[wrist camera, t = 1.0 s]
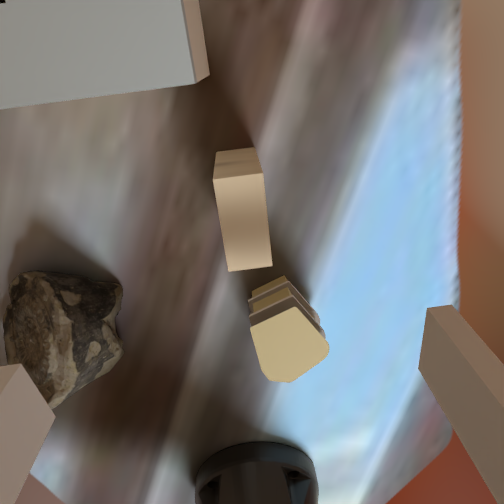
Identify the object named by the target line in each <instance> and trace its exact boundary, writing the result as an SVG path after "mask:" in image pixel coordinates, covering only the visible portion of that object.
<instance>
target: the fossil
mask: <svg viewBox="0 0 504 504" xmlns="http://www.w3.org/2000/svg"><path fill="white" fill-rule="evenodd" d="M9 294H10V298H11V304H10V305H8V307H7V309H6V313H5V315H4V318H3V328H4V340H5V350H6V355H7V362H8V364H9V365H13V364H22V366H23V367H24V369H25V370H26V372H27V373H28V375H29V376H30V378H31V379H32V381H33V383H34V384H35V386H36V387H37V389H38V390H39V392H40V393H41V395H42V396H43V398H44V400H45V401H46V403H47V404H48V406H49V407H50V409H51V410H52V409H54V408H56V407H57V406H58V405H60V404H61V403H62V402H63V401H65V400H66V399H67V398H69V397H70V396H71V395H73V394H74V393H76V392H77V391H78V390H80V389H81V388H83V387H84V386H86V385H87V384H89V383H90V382H92V381H94V380H95V379H97V378H99V377H101V376H102V375H104V374H106V373H108V372H109V371H110V370H111V369H112V368H113V367H114V365H115V364H116V363H117V361H118V360H119V359H120V358H121V357H122V355H123V354H124V352H125V351H124V350H123V349H122V346H123V340H122V339H120V338H119V337H118V336H117V333H116V329H115V316H116V315H118V312H119V311H120V310H121V299H122V297H123V289H122V287H121V285H119V284H116V283H109V282H99V281H96V282H93V281H91V280H89V279H88V278H87V277H84V276H79V275H71V274H62V273H55V272H43V271H29V272H23V273H20V274H19V275H18V276H17V277H16V278H15V279H14V280H13V281H12V283H11V285H10V287H9Z"/></svg>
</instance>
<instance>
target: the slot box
mask: <svg viewBox="0 0 504 504" xmlns="http://www.w3.org/2000/svg"><path fill="white" fill-rule="evenodd" d="M5 1H6V3H1V4H0V109H6V108H14V107H22V106H29V105H37V104H45V103H52V102H60V101H68V100H75V99H83V98H91V97H98V96H106V95H113V94H121V93H129V92H136V91H144V90H152V89H159V88H167V87H175V86H182V85H190V84H196V83H197V82H199V81H200V80H202V79H204V78H205V77H207V76H209V75H210V72H209V65H208V59H207V52H206V46H205V39H204V33H203V26H202V20H201V13H200V7H199V0H5Z"/></svg>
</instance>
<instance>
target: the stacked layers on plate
mask: <svg viewBox="0 0 504 504" xmlns="http://www.w3.org/2000/svg"><path fill="white" fill-rule="evenodd" d="M248 305H249V308H250V312H251V314H250V315H249V319H250V323H251V328H250V331H251V334H252V338H253V341H254V345H255V348H256V352H257V355H258V359H259V363H260V366H261V370H262V372H263V373H264V374H265V375H266V377H267V378H268V379H269V380H270V381H278V382H292V381H294V380H295V379H297V378H298V377H300V376H301V375H302V374H304V373H305V372H307V371H308V370H310V369H311V368H312V367H314V366H315V365H317V364H318V363H319V362H321V361H322V360H324V359H325V358H326V356H327V355H328V353H329V344H328V342H327V341H326V340H325V333H324V330H323V329H322V327H321V326H320V319H319V316H318V314H317V313H316V311H315V310H314V309H313V308H312V307H311V306H310V304H309V303H308V302H307V301H306V300H305V299H304V298H303V296H302V295H301V294H300V293H299V292H298V291H297V289H296V288H295V287H294V286H293V285H292V284H291V282H290V281H288V280H287V279H286V277H285V275H283V276H281V277H279V278H277V279H275V280H273V281H271V282H269V283H267V284H265V285H263V286H261V287H259V288H257V289H255V290H253V291H252V298H251V299H249V300H248Z"/></svg>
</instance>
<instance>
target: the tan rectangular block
mask: <svg viewBox="0 0 504 504" xmlns="http://www.w3.org/2000/svg"><path fill="white" fill-rule="evenodd" d="M213 184H214V190H215V196H216V201H217V207H218V213H219V219H220V225H221V231H222V236H223V242H224V248H225V254H226V260H227V265H228V271H229V272H231V271H238V270H246V269H254V268H261V267H269V266H272V256H271V246H270V236H269V226H268V217H267V207H266V197H265V187H264V177H263V171H262V168H261V165H260V162H259V159H258V156H257V153H256V150H255V147H250V148H243V149H235V150H227V151H220V152H216V158H215V166H214V174H213Z"/></svg>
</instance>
